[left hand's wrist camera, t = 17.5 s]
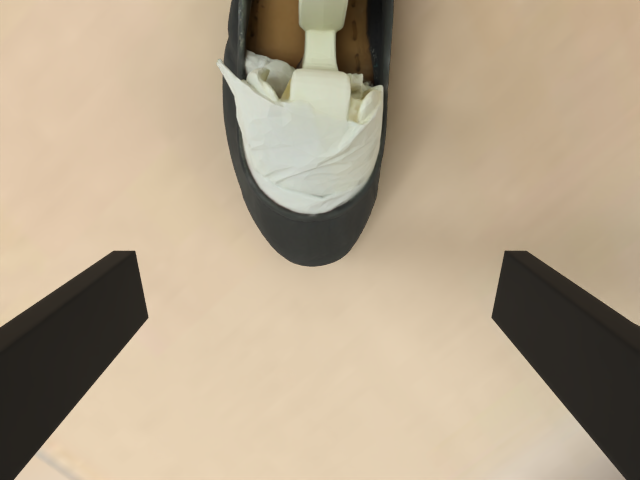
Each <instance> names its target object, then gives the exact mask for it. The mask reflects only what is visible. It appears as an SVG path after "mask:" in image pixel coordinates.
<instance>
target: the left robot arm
mask: <svg viewBox="0 0 640 480" xmlns="http://www.w3.org/2000/svg"><path fill="white" fill-rule="evenodd" d="M147 319H148V313H147V308H146V303H145V298H144V293H143V288H142V283H141V278H140V273H139V268H138V263H137V257H136V252H135V251H113V252H111V253H110V254H108V255H107V256H105V257H104V258H102V259H101V260H99V261H98V262H96V263H95V264H93V265H92V266H90V267H89V268H87V269H86V270H85V271H83V272H82V273H80V274H79V275H77V276H76V277H74V278H73V279H71V280H70V281H68V282H67V283H65V284H64V285H62V286H61V287H59V288H58V289H56V290H55V291H53V292H52V293H51V294H49V295H48V296H46V297H45V298H43V299H42V300H40V301H39V302H37V303H36V304H34V305H33V306H31V307H30V308H28V309H27V310H25V311H24V312H22V313H21V314H19V315H18V316H16V317H15V318H14V319H12V320H11V321H9V322H8V323H6V324H5V325H3V326H2V327H0V480H14V479H15V478H16V476H17V475H18V474H19V473H20V472H21V470H22V469H23V468H24V467H25V465H26V464H27V463H28V462H29V461H30V460H31V458H32V457H33V456H34V455H35V454H36V452H37V451H38V450H39V449H40V448H41V446H42V445H43V444H44V443H45V442H46V440H47V439H48V438H49V437H50V436H51V434H52V433H53V432H54V431H55V429H56V428H57V427H58V426H59V425H60V423H61V422H62V421H63V420H64V419H65V417H66V416H67V415H68V414H69V413H70V411H71V410H72V409H73V408H74V407H75V405H76V404H77V403H78V402H79V401H80V399H81V398H82V397H83V396H84V395H85V393H86V392H87V391H88V390H89V389H90V387H91V386H92V385H93V384H94V383H95V381H96V380H97V379H98V378H99V377H100V375H101V374H102V373H103V372H104V371H105V369H106V368H107V367H108V366H109V365H110V363H111V362H112V361H113V360H114V359H115V357H116V356H117V355H118V354H119V353H120V351H121V350H122V349H123V348H124V346H125V345H126V344H127V343H128V342H129V340H130V339H131V338H132V337H133V336H134V334H135V333H136V332H137V331H138V330H139V328H140V327H141V326H142V325H143V324H144V322H145V321H146V320H147ZM492 319H493V320H494V321H495V322H496V324H497V325H498V326H499V327H500V328H501V330H502V331H503V332H504V333H505V334H506V336H507V337H508V338H509V339H510V340H511V342H512V343H513V344H514V345H515V346H516V348H517V349H518V350H519V351H520V353H521V354H522V355H523V356H524V357H525V359H526V360H527V361H528V362H529V363H530V365H531V366H532V367H533V368H534V369H535V371H536V372H537V373H538V374H539V375H540V377H541V378H542V379H543V380H544V381H545V383H546V384H547V385H548V386H549V387H550V389H551V390H552V391H553V392H554V393H555V395H556V396H557V397H558V398H559V399H560V401H561V402H562V403H563V404H564V405H565V407H566V408H567V409H568V410H569V411H570V413H571V414H572V415H573V416H574V417H575V419H576V420H577V421H578V422H579V423H580V425H581V426H582V427H583V428H584V429H585V431H586V432H587V433H588V434H589V436H590V437H591V438H592V439H593V440H594V442H595V443H596V444H597V445H598V446H599V448H600V449H601V450H602V451H603V452H604V454H605V455H606V456H607V457H608V458H609V460H610V461H611V462H612V463H613V464H614V466H615V467H616V468H617V469H618V470H619V472H620V473H621V474H622V475H623V476H624V478H625V479H626V480H640V326H638V325H636V324H634V323H632V322H631V321H629V320H628V319H626V318H625V317H624V316H622V315H621V314H619V313H618V312H616V311H615V310H613V309H612V308H610V307H609V306H607V305H606V304H604V303H603V302H601V301H600V300H598V299H597V298H595V297H594V296H592V295H591V294H589V293H588V292H587V291H585V290H584V289H582V288H581V287H579V286H578V285H576V284H575V283H573V282H572V281H570V280H569V279H567V278H566V277H564V276H563V275H561V274H560V273H558V272H557V271H555V270H554V269H553V268H551V267H550V266H548V265H547V264H545V263H544V262H542V261H541V260H539V259H538V258H536V257H535V256H533V255H532V254H530V253H529V252H527V251H505V252H504V257H503V263H502V268H501V273H500V278H499V283H498V288H497V293H496V298H495V303H494V308H493V313H492Z"/></svg>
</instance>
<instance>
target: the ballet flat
mask: <svg viewBox="0 0 640 480" xmlns="http://www.w3.org/2000/svg"><path fill="white" fill-rule="evenodd" d="M393 6H394V0H232V2H231V8H230V14H229V21H228V33H229V38H228V41H227V44H226V48H225V54H224V63H223V62H222V60H221V59H219V60H218V61H217V63H216V64H217V65H218V67H219V69H220V70H221V72H222V74H223V111H224V121H225V128H226V135H227V140H228V145H229V150H230V154H231V158H232V162H233V166H234V170H235V173H236V176H237V179H238V182H239V185H240V188H241V191H242V195H243V198H244V201H245V203H246V206H247V208H248V210H249V212H250V214H251V216H252V218H253V220H254V222H255V223H256V225H257V226H258V228H259V230H260V231H261V233H262V234H263V236H264V237H265V238H266V240H267V241H268V242H269V243H270V245H271V246H272V247H273V248H274V249H275V250H276V251H277V252H278V253H279V254H280V255H282V256H283V257H284V258H286V259H287V260H289V261H290V262H293V263H295V264H298V265H302V266H322V265H326V264H330V263H333V262H335V261H337V260H339V259H341V258H342V257H344V256H345V255H346V254H347V253H348V252H349V251H350V250H351V248H352V247H353V245H354V244H355V242H356V241H357V239H358V238H359V236H360V234H361V233H362V231H363V229H364V227H365V225H366V223H367V220H368V218H369V216H370V214H371V210H372V208H373V206H374V202H375V200H376V196H377V190H378V182H379V175H380V167H381V161H382V157H383V151H384V145H385V136H386V122H387V98H388V80H389V65H390V55H391V41H392V26H393Z"/></svg>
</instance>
